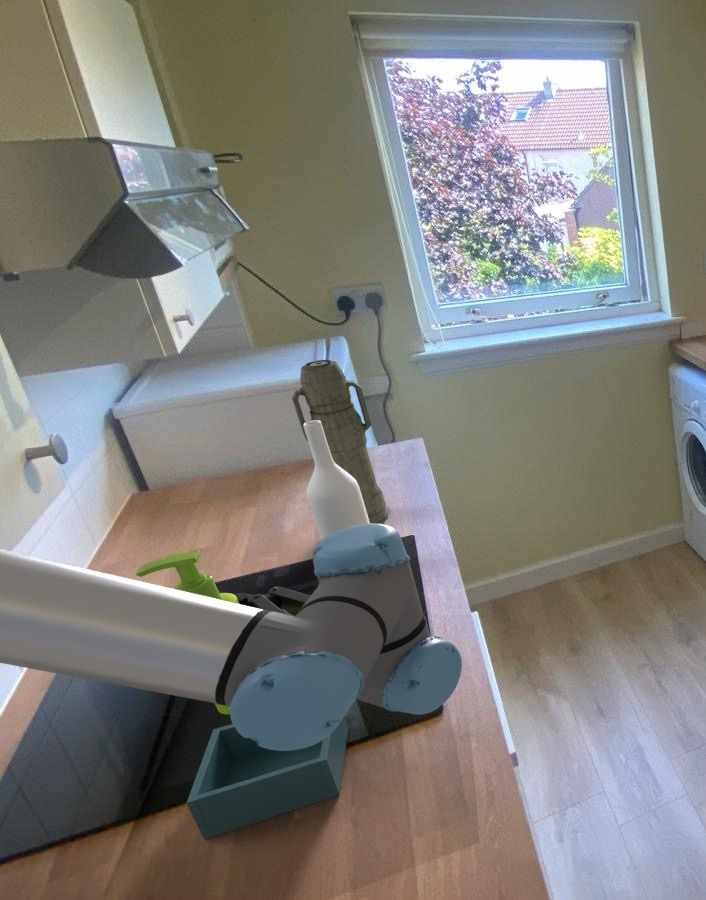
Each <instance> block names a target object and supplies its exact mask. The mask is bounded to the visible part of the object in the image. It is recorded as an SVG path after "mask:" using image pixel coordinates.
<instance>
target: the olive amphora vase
mask: <svg viewBox="0 0 706 900" xmlns="http://www.w3.org/2000/svg"><path fill="white" fill-rule="evenodd" d="M299 382H300V386H301V387H299V389H296V390H295V391H294V393H293V395H292V397H291V400H292V404H293V407H294V410H295V413H296V416H297V419H298V422H299V426H300V428H301V431H302V434H303V436H304V438H305V440H306V441H307V443H309V442H308V439H307V436H306V433H305V430H304V426H303V424H304V423H306V420H305V416H304V414H303V410H302V408H301V404H300V401H299V397H300V396H302V397H304V398H305V401H306V404H307V406H308V408H309V414H310V421H313V420H319V421H321V424H322V427H323V430H324V434H325V437H326V440H327V443H328V446H329V450H330V453H331V456H332V458H333V461H334V462H335V463H336V464H337V465H338V466H339V467H341V468H342V469H343V470H345V471H346V472H347V473H348V474H350V475H351V476H352V477H353V478H354V479H355V480H356V481H357V483H358V485H359V488H360V491H361V495H362V498H363V501H364V505H365V508H366V512H367V515H368V518H369V522H370V524H383V523H384V522H386V521H387V520H388V518H389V513H388V511H387V507H386V506H387V503H386V499H385V496H384V493H383V491H382V489H381V488H380V487H379V485H378V482H377V479H376V475H375V472H374V468H373V465H372V461H371V458H370V455H369V451H368V447H367V442H368V437H367V434H366V431H368V430H369V428H371V426H372V422H371V418H370V415H369V411H368V407H367V404H366V399H365V396H364V391H363V387H362V386H361V385H360V384H359V383H357V382H356V381H354V380H347V377H346V375H345V374H344V372H343V369H342V368H341V366H340V365H339V363H338V362H337V361H335V360H331V359H319V360H313V361H309V362H307V363H305V364H304V365H302V366H301V367H300V377H299ZM350 387H353V388H354V389H355V393H356V397H357V400H358V403H359V407H360V411H361V415H362V416H361V415H360V414H359V412H358V411H357V409H356V408H355V405H354V403H353V402H352V399H351V398H352V394H351V390H350ZM362 418H363V419H362ZM362 420H363V421H364V422H363V421H362Z"/></svg>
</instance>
